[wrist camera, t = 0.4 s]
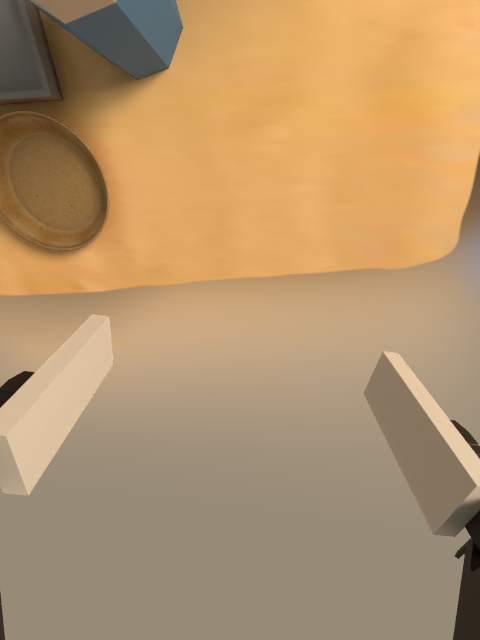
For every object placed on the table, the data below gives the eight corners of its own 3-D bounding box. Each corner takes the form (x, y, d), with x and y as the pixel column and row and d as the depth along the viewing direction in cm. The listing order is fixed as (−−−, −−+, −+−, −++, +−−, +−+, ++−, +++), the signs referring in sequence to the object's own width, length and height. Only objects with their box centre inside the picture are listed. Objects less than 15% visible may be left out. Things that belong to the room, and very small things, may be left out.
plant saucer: (139, 181, 36) (132, 182, 34) (83, 267, 41) (73, 273, 39) (23, 80, 31) (5, 73, 29) (-23, 191, 37) (-41, 193, 35)
